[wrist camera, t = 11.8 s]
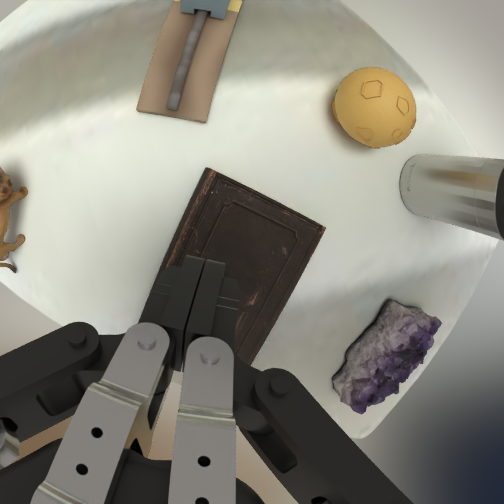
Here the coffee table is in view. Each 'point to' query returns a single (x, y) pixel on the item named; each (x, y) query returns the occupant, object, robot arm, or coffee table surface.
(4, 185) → the lion figurine
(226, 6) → the pale blue squarish block
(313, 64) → the coffee table surface
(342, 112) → the stress ball
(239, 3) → the rail
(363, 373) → the geode
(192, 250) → the hardcover book
